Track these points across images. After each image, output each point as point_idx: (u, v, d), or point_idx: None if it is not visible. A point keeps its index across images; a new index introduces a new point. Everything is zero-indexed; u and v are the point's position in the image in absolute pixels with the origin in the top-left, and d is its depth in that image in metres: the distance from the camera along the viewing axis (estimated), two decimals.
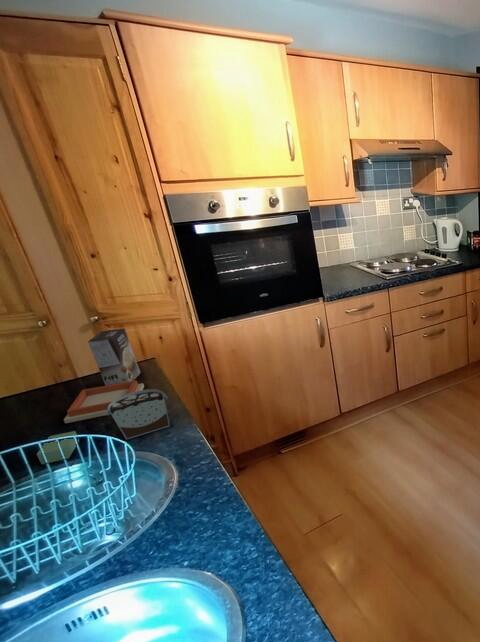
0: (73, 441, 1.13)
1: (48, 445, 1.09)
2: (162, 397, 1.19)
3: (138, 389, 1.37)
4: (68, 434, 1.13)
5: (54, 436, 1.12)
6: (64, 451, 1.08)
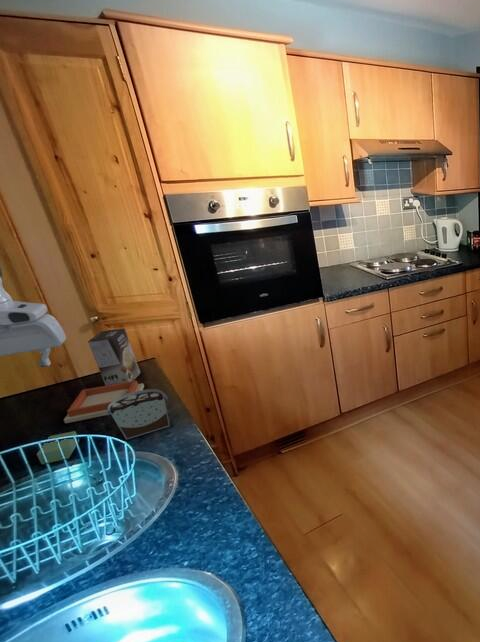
0: (73, 441, 1.13)
1: (48, 445, 1.09)
2: (162, 397, 1.19)
3: (138, 389, 1.37)
4: (68, 434, 1.13)
5: (54, 436, 1.12)
6: (64, 451, 1.08)
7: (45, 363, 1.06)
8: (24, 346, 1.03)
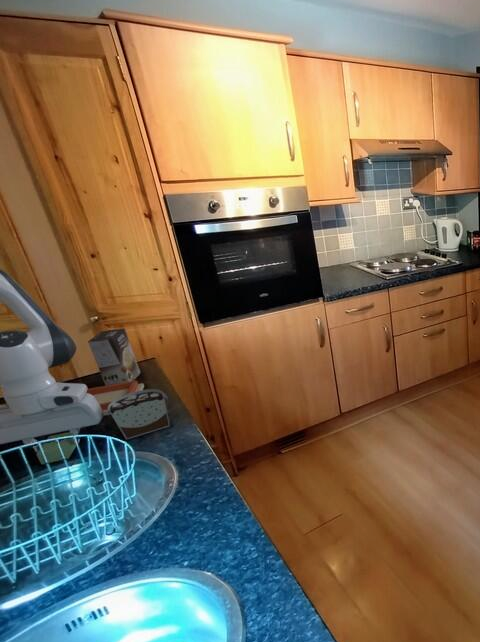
0: None
1: (48, 445, 1.09)
2: (162, 397, 1.19)
3: (138, 389, 1.37)
4: (68, 434, 1.13)
5: (54, 436, 1.12)
6: (64, 451, 1.08)
7: None
8: (65, 425, 1.09)
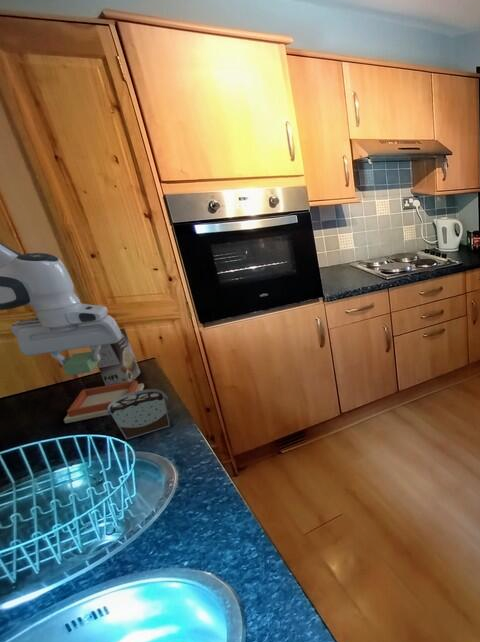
0: None
1: (72, 360, 1.21)
2: (162, 397, 1.19)
3: (138, 389, 1.37)
4: (90, 353, 1.25)
5: (77, 354, 1.25)
6: (87, 365, 1.21)
7: (96, 358, 1.24)
8: (88, 342, 1.21)
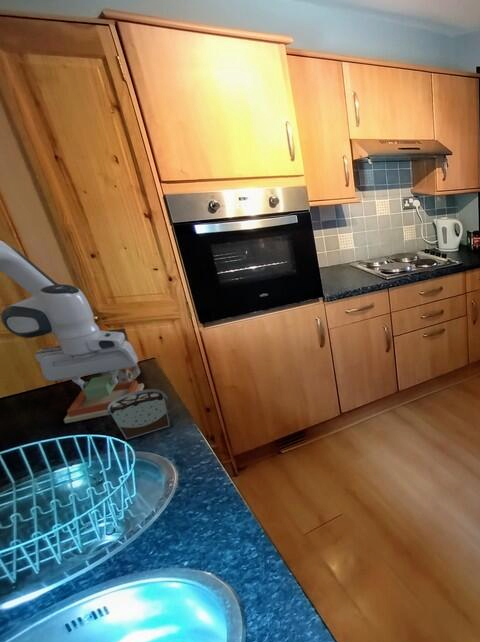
0: None
1: (92, 384, 1.28)
2: (162, 397, 1.19)
3: (138, 389, 1.37)
4: (108, 376, 1.32)
5: (96, 378, 1.31)
6: (106, 388, 1.27)
7: (114, 382, 1.30)
8: (107, 367, 1.27)
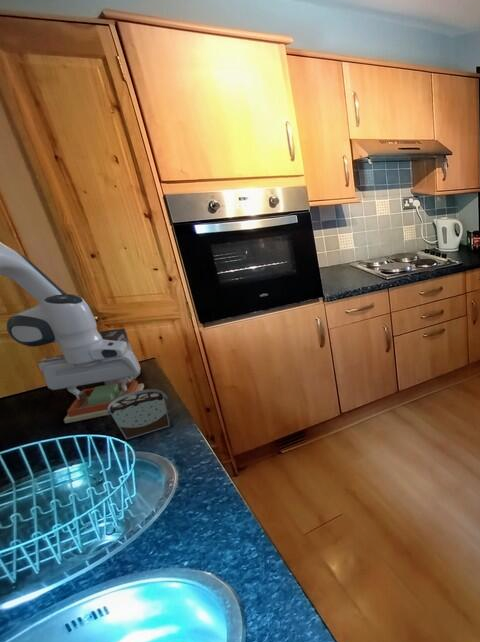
0: (116, 391, 1.33)
1: (96, 393, 1.29)
2: (162, 397, 1.19)
3: (138, 389, 1.37)
4: (111, 385, 1.33)
5: (100, 387, 1.32)
6: (110, 398, 1.28)
7: (124, 389, 1.32)
8: (110, 376, 1.28)
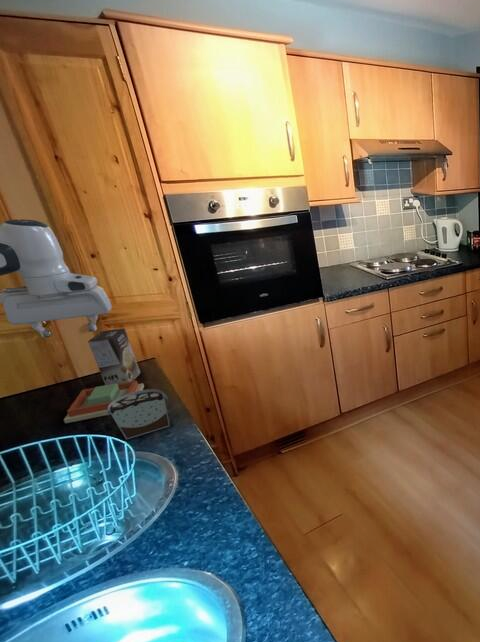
0: (116, 391, 1.33)
1: (96, 393, 1.29)
2: (162, 397, 1.19)
3: (138, 389, 1.37)
4: (111, 385, 1.33)
5: (100, 387, 1.32)
6: (110, 398, 1.28)
7: (93, 328, 1.22)
8: (77, 312, 1.19)
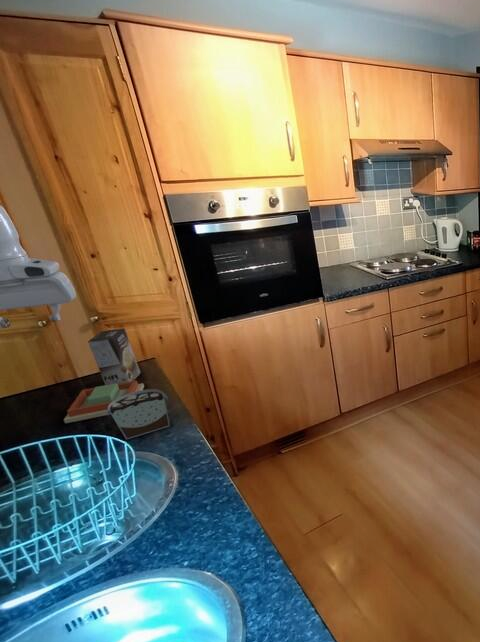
0: (116, 391, 1.33)
1: (96, 393, 1.29)
2: (162, 397, 1.19)
3: (138, 389, 1.37)
4: (111, 385, 1.33)
5: (100, 387, 1.32)
6: (110, 398, 1.28)
7: (56, 318, 1.13)
8: (37, 300, 1.09)
